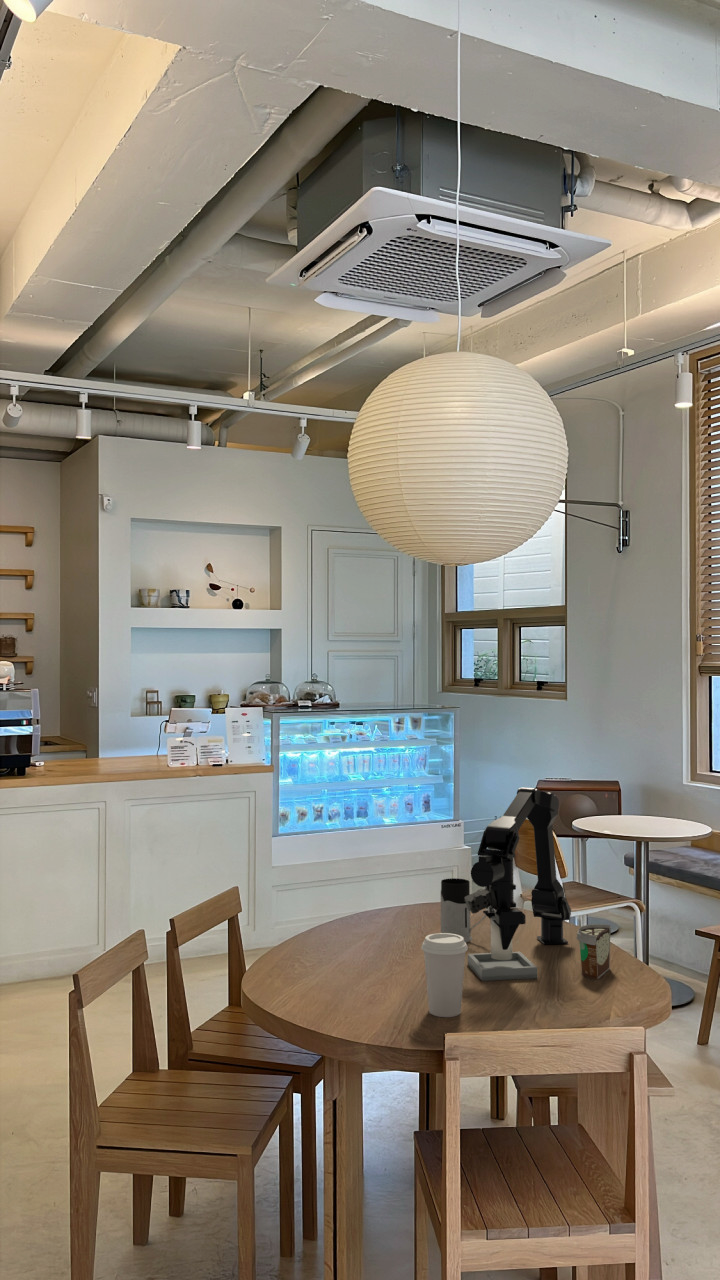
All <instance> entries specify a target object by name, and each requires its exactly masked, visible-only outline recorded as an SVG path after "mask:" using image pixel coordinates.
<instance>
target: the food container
mask: <svg viewBox="0 0 720 1280" xmlns="http://www.w3.org/2000/svg"><path fill="white" fill-rule="evenodd" d="M611 929H612V927H611V925H610V924H601V923H600V924H598V923H596V924H593V923H592V924H585V925H582V926H580V927H579V928H578V930H577V932H576V939H577V941H579V952H580V954H579V955H580V965H581V967H580V968H581V973H582V975H583V976H585V977H587V978H590V979H594V980H598V979H600V978H601V977H602V976H603V975H605V974H606V972H608V971H610V967H611V965H610V964H611V963H610V962H611V934H612V930H611Z"/></svg>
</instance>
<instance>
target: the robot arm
mask: <svg viewBox="0 0 720 1280" xmlns="http://www.w3.org/2000/svg"><path fill="white" fill-rule="evenodd" d="M559 806H560V802H559V798H558V797H557V795H555V793H553V792H546V791H542V790H540V789H538V788H536V787H519V788H517V791H516V796H515V797H514V799H513V800H512V801H511V803H510V804H509V806H508V807H507V809H506V810H505V812H504V813H503V815H502V816H501V817H499V818H497V819H494V820H492V821H491V822H490V823H489V824H488V825H487V827H485V829H484V831H483V834H482V837H481V840H480V844H479V846H478V847H479V848H478V851H477V856H478V861H477V862H475V863H474V864H473V865H472V866H471V870H470V877H471V880H472V882H473V883H474V884H475V885H476V886H478V887H482V888H483V889H484V890H480V891H477V890H476V891H477V892H476V891H474V892H473V893H470V895H468V896H466V897H464V899H465V901H466V904H467V907H468V910H469V911H470V914H477V913H479V911H482V910H483V911H482V912H483V914H484V916H485V915H486V917H487V918H488V919H489V920H490V922H491V917H493V916H495V920H493V922H494V923H495V924H496V925H497V926H498V927H499V931H500V938H501V944H502V949H503V950H507V949H508V947H509V945H510V942H511V940H512V941H513V938H514V935H515V934H516V932H517V930H518V928H519V926H520V925H525V924H527V923H526V914H525V913H523V912H524V911H523V912H522V910H520V909H519V908H517V903H516V902H515V901H514V890H515V891H516V890H517V884H515V883H514V859H515V858H516V855H517V854H516V852H515V851H516V849H517V847H518V844H519V841H520V835H519V830H520V828H521V827H522V825H523V824H524V822H525V821H526V819H527V820H528V821H529V822H530V825H531V826H532V827H533V835H534V848H535V849H534V850H535V861H536V874H537V875H536V876H537V882H536V884H535V886H534V887H533V889H532V890H531V907H532V908H531V909H532V913H533V918H540V935H537V936H536V939H537V940H538V941H539V942H541V943H542V944H543V945H558V944H559V945H562V944H563V945H564V944H569V941H568V940H567V939H565V938H564V922H566V921H571V917H572V908H571V907H570V904H569V902H568V900H567V898H566V896H565V890H564V887H563V886H562V884H561V883H560V881H559V880H558V879H557V869H556V856H555V855H556V854H555V843H554V832H553V830H554V829H553V824H554V822H555V820H556V818H557V817H558V812H559V811H558V810H559V808H560V807H559ZM484 887H485V888H484ZM484 909H485V910H484Z"/></svg>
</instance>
